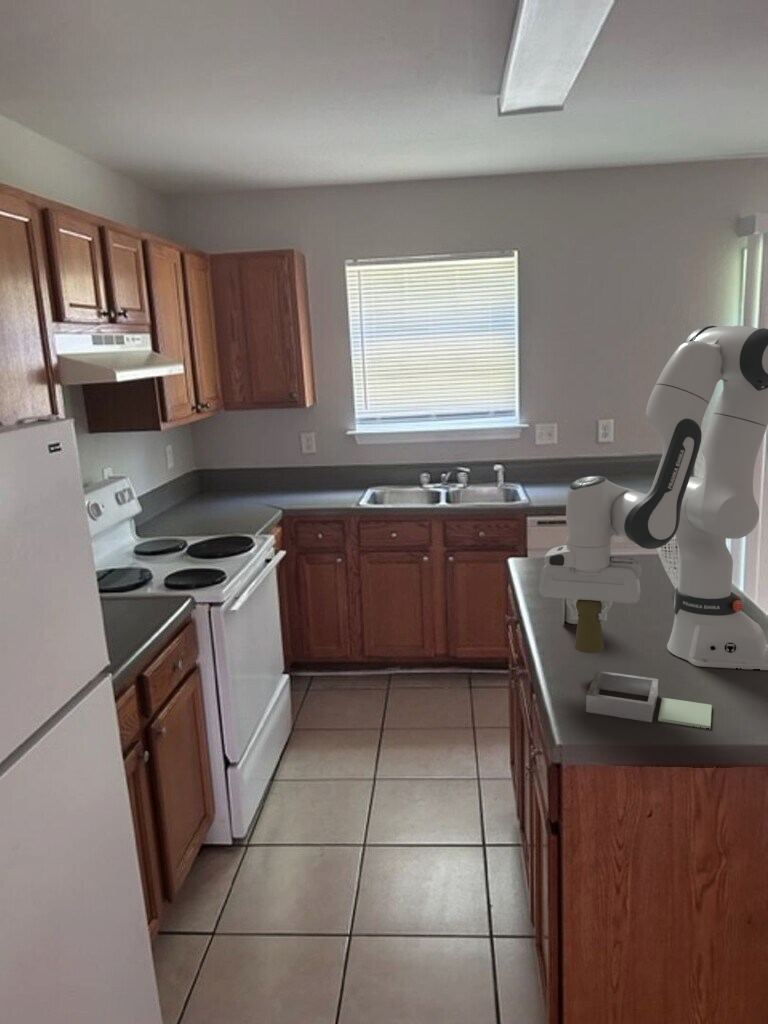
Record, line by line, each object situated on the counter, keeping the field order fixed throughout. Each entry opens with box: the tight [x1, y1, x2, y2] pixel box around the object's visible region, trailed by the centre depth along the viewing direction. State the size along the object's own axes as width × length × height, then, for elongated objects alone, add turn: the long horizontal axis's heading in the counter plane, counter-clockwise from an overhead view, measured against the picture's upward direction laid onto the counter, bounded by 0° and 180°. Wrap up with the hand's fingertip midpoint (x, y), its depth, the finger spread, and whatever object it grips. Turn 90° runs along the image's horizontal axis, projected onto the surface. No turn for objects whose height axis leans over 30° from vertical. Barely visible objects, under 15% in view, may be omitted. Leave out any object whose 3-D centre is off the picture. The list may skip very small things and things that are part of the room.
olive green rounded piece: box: [574, 599, 605, 654], centre depth 161 cm, size 6×6×11 cm
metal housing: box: [585, 670, 659, 723], centre depth 150 cm, size 12×12×4 cm
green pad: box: [657, 697, 713, 730], centre depth 145 cm, size 9×9×1 cm
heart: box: [656, 535, 679, 590], centre depth 209 cm, size 28×16×22 cm, turn 167°
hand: (589, 618), depth 161 cm, fingers closed on olive green rounded piece, 4 cm apart
